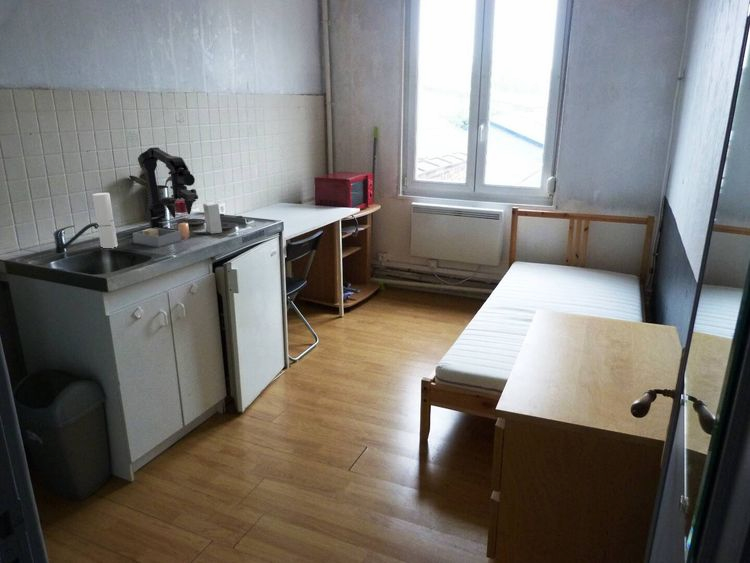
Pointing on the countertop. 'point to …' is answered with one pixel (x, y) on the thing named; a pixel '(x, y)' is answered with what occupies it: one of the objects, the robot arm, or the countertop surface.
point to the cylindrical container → (105, 220)
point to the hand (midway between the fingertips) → (181, 215)
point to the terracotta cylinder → (184, 230)
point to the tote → (157, 238)
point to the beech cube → (151, 232)
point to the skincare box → (212, 218)
